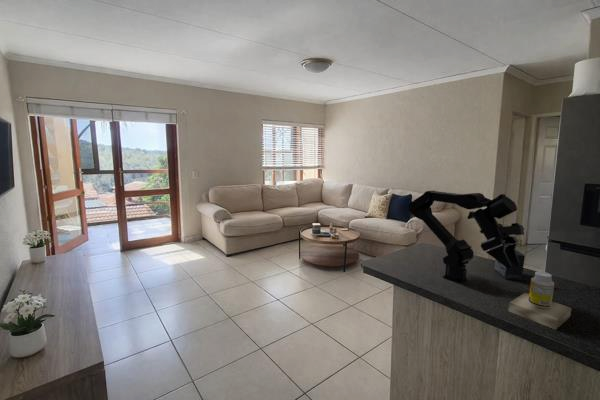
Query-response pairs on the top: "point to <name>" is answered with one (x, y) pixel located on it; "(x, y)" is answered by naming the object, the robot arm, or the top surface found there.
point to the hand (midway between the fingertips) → (514, 266)
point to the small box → (512, 272)
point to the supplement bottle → (541, 290)
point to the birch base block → (540, 312)
